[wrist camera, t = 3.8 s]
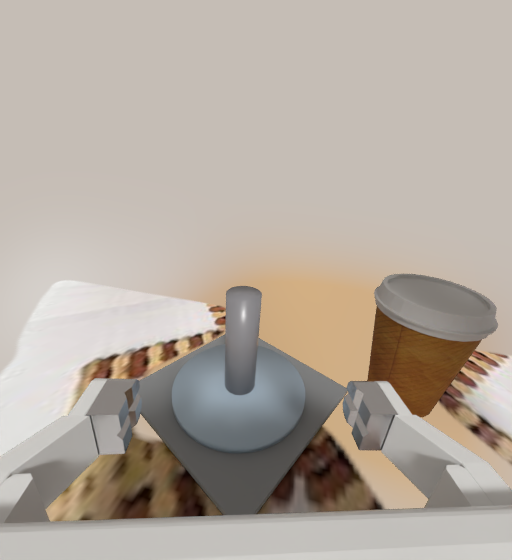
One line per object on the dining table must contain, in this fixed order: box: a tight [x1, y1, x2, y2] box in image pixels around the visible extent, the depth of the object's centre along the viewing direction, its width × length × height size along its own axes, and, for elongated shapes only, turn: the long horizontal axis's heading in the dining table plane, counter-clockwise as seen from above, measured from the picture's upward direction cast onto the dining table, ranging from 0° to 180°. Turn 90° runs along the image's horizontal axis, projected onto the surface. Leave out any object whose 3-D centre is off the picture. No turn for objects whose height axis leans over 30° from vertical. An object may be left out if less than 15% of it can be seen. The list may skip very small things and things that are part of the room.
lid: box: [172, 286, 305, 454], centre depth 25 cm, size 13×13×11 cm
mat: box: [138, 334, 347, 515], centre depth 27 cm, size 16×16×1 cm
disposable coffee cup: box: [367, 274, 498, 417], centre depth 26 cm, size 10×10×12 cm
